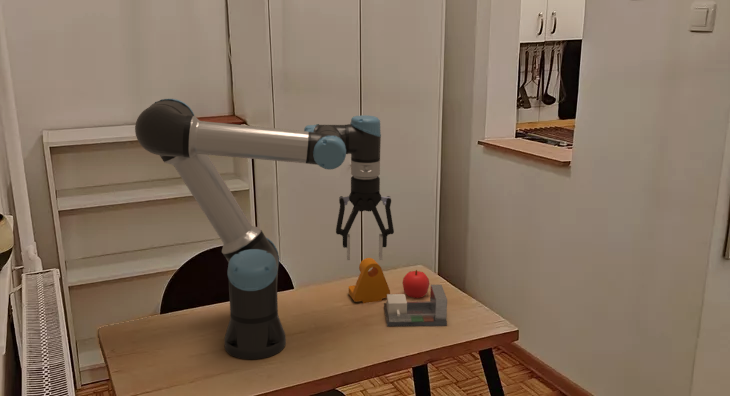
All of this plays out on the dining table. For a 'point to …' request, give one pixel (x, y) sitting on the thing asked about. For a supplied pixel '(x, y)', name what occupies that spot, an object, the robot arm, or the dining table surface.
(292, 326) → the dining table surface
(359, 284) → the bracket
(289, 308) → the dining table surface
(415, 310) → the gauge base
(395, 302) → the cream block with peg
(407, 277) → the apple
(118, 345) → the dining table surface
